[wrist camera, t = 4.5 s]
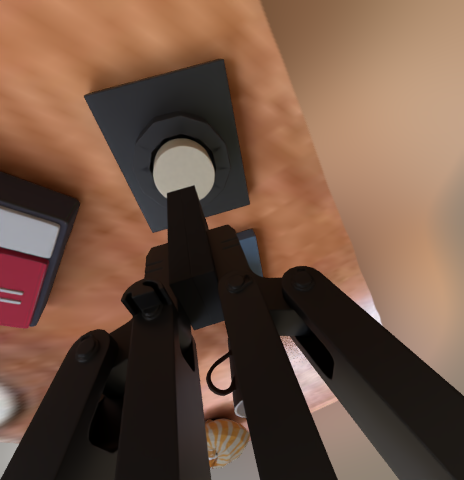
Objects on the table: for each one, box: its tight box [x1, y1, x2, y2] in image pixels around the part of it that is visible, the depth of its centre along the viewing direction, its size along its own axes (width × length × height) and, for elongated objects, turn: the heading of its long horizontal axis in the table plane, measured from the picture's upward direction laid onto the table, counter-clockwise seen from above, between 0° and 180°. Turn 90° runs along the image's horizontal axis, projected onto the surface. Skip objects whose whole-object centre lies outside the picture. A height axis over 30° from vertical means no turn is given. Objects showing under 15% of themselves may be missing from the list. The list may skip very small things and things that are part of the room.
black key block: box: [84, 59, 250, 233], centre depth 21 cm, size 12×10×4 cm
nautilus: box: [205, 419, 250, 469], centre depth 58 cm, size 8×22×15 cm
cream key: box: [153, 138, 215, 200], centre depth 19 cm, size 4×4×2 cm
